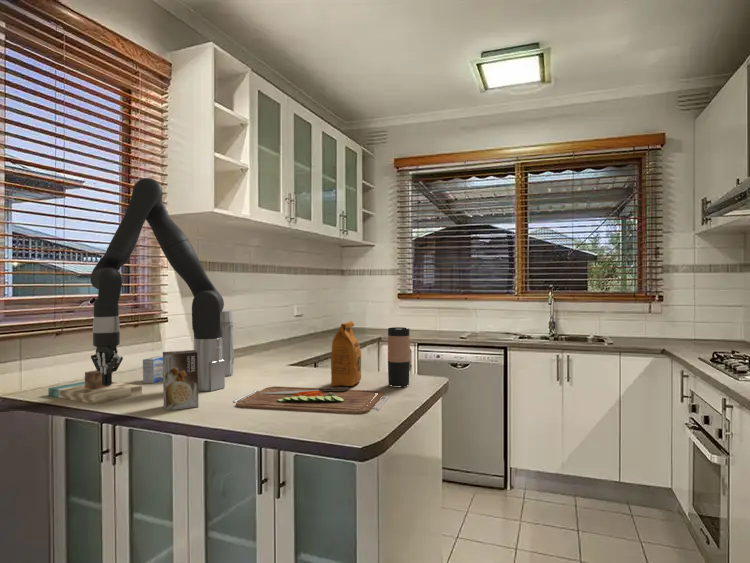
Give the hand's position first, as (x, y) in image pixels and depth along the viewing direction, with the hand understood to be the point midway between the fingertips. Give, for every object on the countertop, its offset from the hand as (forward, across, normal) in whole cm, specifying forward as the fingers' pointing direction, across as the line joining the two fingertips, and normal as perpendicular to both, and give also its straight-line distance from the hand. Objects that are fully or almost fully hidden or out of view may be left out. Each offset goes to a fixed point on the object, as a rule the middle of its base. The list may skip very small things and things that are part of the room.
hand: (106, 385), depth 162 cm
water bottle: (+4, -8, -44) cm, 45 cm away
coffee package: (+4, -58, -52) cm, 77 cm away
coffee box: (+4, -31, -2) cm, 31 cm away
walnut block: (+1, +5, 0) cm, 5 cm away
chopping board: (+5, -60, -26) cm, 66 cm away
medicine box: (+4, +8, -24) cm, 26 cm away
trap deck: (+4, +6, 0) cm, 7 cm away
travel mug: (+4, -75, -58) cm, 95 cm away
